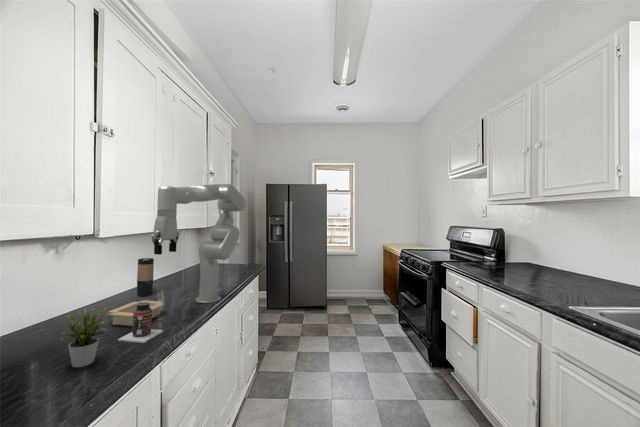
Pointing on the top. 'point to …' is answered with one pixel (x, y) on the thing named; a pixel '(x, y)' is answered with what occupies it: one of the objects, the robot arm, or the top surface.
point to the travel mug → (145, 277)
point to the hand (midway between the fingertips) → (165, 252)
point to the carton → (126, 312)
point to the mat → (142, 339)
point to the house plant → (84, 339)
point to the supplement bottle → (142, 320)
